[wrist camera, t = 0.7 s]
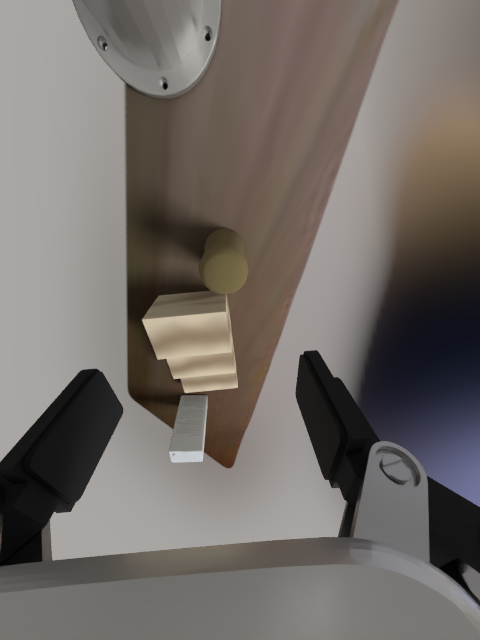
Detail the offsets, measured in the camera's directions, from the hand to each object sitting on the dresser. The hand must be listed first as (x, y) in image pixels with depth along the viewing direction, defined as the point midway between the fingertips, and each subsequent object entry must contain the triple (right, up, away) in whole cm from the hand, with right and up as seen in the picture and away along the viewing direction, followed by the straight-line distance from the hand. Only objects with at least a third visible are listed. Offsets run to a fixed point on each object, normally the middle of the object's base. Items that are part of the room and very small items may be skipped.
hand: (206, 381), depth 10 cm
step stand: (-5, -1, +28) cm, 29 cm away
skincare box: (-9, -16, +37) cm, 41 cm away
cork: (-1, +13, +20) cm, 24 cm away
